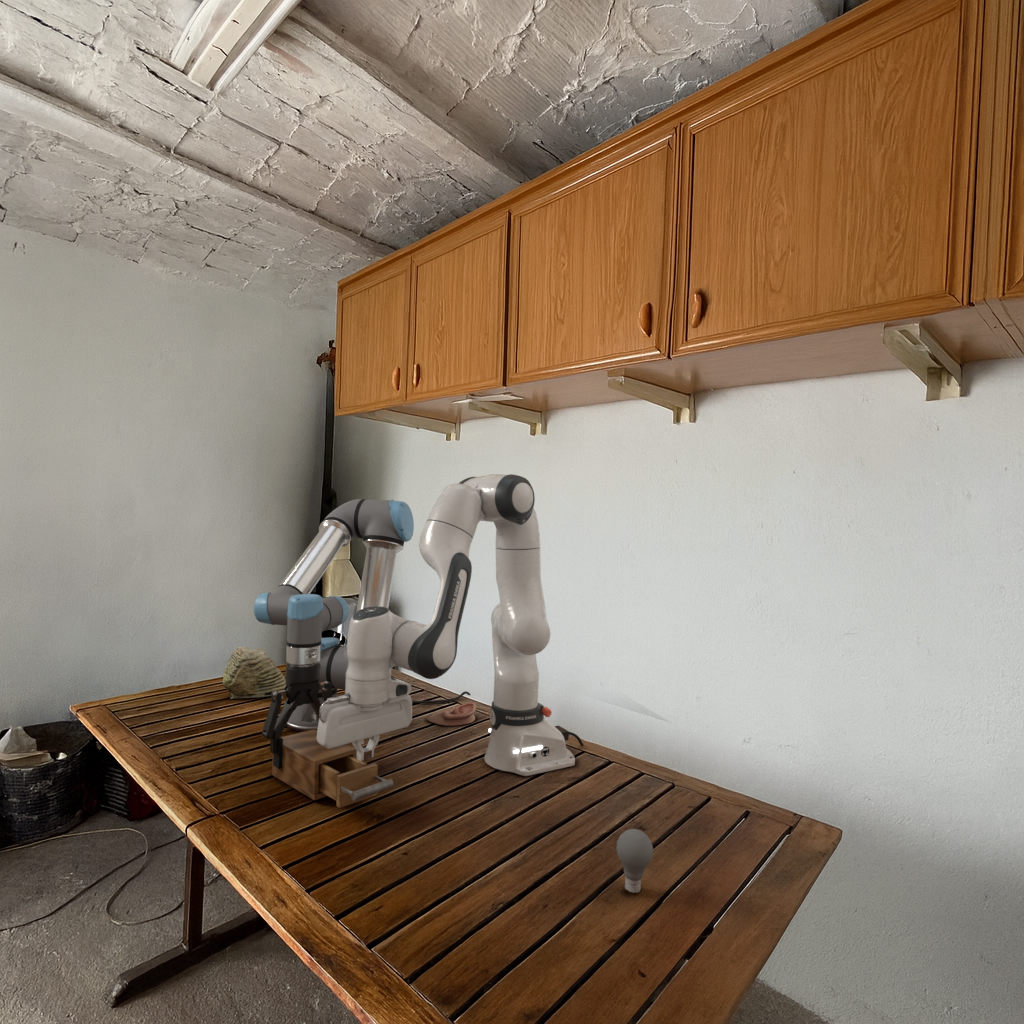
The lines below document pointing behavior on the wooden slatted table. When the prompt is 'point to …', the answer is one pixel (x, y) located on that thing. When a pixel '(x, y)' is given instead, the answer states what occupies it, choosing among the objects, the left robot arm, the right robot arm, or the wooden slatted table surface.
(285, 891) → the wooden slatted table surface
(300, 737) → the cabinet
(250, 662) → the fossil
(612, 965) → the wooden slatted table surface
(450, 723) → the anatomical model
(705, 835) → the wooden slatted table surface
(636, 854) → the light bulb
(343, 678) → the left robot arm
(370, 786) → the drawer
